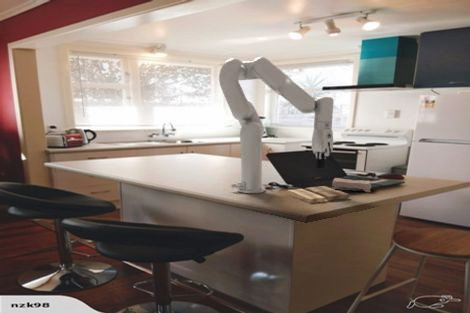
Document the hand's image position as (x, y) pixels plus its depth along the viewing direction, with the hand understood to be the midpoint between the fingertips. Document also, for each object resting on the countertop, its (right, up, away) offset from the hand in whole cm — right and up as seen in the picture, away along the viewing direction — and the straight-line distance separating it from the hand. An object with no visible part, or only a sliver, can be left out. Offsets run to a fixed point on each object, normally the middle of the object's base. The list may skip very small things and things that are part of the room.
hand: (319, 167), depth 154 cm
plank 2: (+3, -12, -8) cm, 15 cm away
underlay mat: (-2, -12, -5) cm, 13 cm away
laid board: (-8, -12, -7) cm, 16 cm away
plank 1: (0, -11, +1) cm, 11 cm away
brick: (+17, -11, +9) cm, 22 cm away
